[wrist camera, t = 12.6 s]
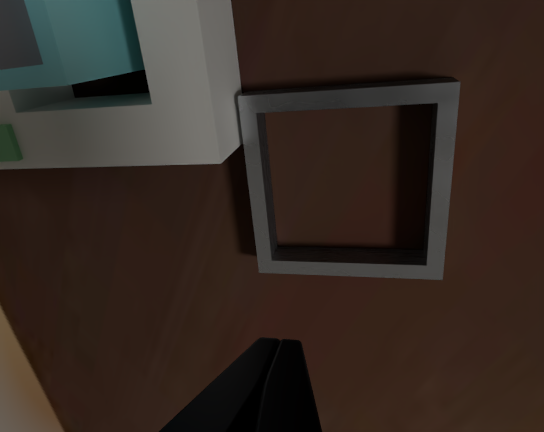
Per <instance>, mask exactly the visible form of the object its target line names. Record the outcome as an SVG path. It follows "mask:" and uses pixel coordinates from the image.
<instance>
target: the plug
mask: <svg viewBox="0 0 544 432" xmlns="http://www.w3.org/2000/svg"><path fill="white" fill-rule="evenodd" d="M144 69H145V67H144V62H143V57H142V53H141V48H140V43H139V38H138V33H137V28H136V23H135V19H134V14H133V9H132V4H131V0H0V91H4V90H16V89H29V88H41V87H53V86H66V85H72V84H77V83H82V82H86V81H91V80H96V79H101V78H106V77H110V76H115V75H120V74H125V73H130V72H134V71H139V70H144Z"/></svg>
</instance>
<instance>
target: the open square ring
mask: <svg viewBox="0 0 544 432" xmlns="http://www.w3.org/2000/svg"><path fill="white" fill-rule="evenodd" d="M459 91H460V81H458V80H457V79H455V78H454V77H450V78H436V79H421V80H406V81H391V82H377V83H362V84H347V85H333V86H318V87H303V88H288V89H274V90H259V91H246V92H245V93H243V94H241V95H239V96H238V104H239V113H240V121H241V129H242V137H243V145H244V153H245V162H246V170H247V178H248V186H249V194H250V202H251V210H252V219H253V227H254V235H255V243H256V251H257V259H258V267H259V273H281V274H307V275H332V276H358V277H384V278H410V279H435V280H443V269H444V258H445V247H446V236H447V225H448V213H449V202H450V191H451V180H452V169H453V158H454V147H455V136H456V125H457V114H458V102H459ZM428 103H433V107H432V122H431V138H430V153H429V168H428V184H427V199H426V214H425V230H424V245H423V250H400V249H358V248H315V247H278V245H277V235H276V225H275V215H274V205H273V195H272V184H271V174H270V164H269V154H268V144H267V134H266V123H265V113H264V112H282V111H300V110H318V109H337V108H355V107H373V106H391V105H410V104H428Z"/></svg>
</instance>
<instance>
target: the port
mask: <svg viewBox="0 0 544 432" xmlns="http://www.w3.org/2000/svg"><path fill="white" fill-rule="evenodd" d="M131 4H132V9H133V14H134V19H135V23H136V28H137V33H138V38H139V43H140V48H141V53H142V57H143V62H144V67H145V72H146V77H147V82H148V86H149V91H150V93H138V94H123V95H109V96H95V97H81V98H75V96H74V92H73V89H72V85H66V86H53V87H41V88H29V89H16V90H4V91H0V169H29V168H68V167H108V166H147V165H186V164H221V163H222V162H223V161H224V160H225V159H226V158H227V157H228V156H230V155H231V154H232V153H233V152H234V151H235V150H236V149H237V148H238V147H239V146H240V145H241V144H242V143H243V137H242V129H241V121H240V113H239V104H238V96H239V95H241V94H242V90H241V82H240V74H239V65H238V57H237V48H236V40H235V31H234V23H233V14H232V6H231V0H131Z"/></svg>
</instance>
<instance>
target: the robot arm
mask: <svg viewBox="0 0 544 432" xmlns="http://www.w3.org/2000/svg"><path fill="white" fill-rule="evenodd" d="M159 432H322V429H321V425H320V420H319V416H318V412H317V408H316V403H315V399H314V395H313V390H312V386H311V382H310V377H309V373H308V369H307V364H306V360H305V356H304V352H303V347H302V343H301V342H300V341H299V340H290V339H282V340H281V341H280V340H279V339H277V338H264V337H262V338H259V339H258V340H257V341H255V342H254V343H253V344H252V345H251V346H250V347H249V348H248V349H247V350H246V351H245V352H244V353H243V354H242V355H240V356H239V357H238V358H237V359H236V360H235V361H234V362H233V363H232V364H231V365H230V366H229V367H228V368H227V369H225V370H224V371H223V372H222V373H221V374H220V375H219V376H218V377H217V378H216V379H215V380H214V381H213V382H211V383H210V384H209V385H208V386H207V387H206V388H205V389H204V390H203V391H202V392H201V393H200V394H199V395H198V396H196V397H195V398H194V399H193V400H192V401H191V402H190V403H189V404H188V405H187V406H186V407H185V408H184V409H183V410H181V411H180V412H179V413H178V414H177V415H176V416H175V417H174V418H173V419H172V420H171V421H170V422H169V423H168V424H166V425H165V426H164V427H163V428H162V429H161V430H160V431H159Z"/></svg>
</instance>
